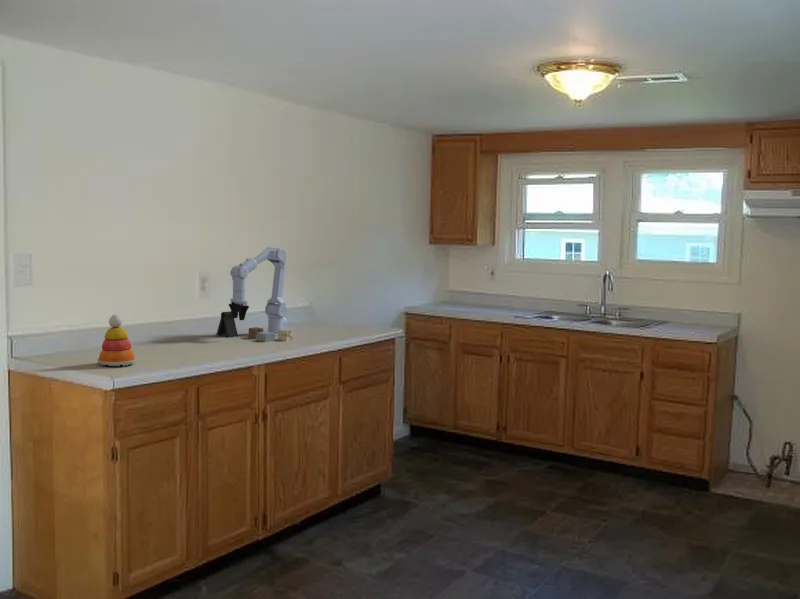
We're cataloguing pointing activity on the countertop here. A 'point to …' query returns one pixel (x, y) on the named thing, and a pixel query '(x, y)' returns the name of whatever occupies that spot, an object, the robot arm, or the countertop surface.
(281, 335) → the maple cube
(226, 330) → the phone stand
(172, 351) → the countertop surface
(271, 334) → the grey base block
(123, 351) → the stacking toy
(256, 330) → the walnut cube
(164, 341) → the countertop surface
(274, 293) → the robot arm
